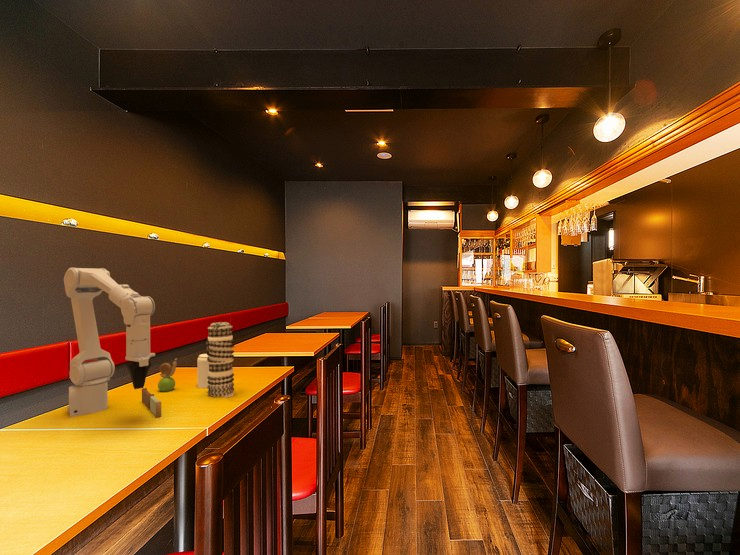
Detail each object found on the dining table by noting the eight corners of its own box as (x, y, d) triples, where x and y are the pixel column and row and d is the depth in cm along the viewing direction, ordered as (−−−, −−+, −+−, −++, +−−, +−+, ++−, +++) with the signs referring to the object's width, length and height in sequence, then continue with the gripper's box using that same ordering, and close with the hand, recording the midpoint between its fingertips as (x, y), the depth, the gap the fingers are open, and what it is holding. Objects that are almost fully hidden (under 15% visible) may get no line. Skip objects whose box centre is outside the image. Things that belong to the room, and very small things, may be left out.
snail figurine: (172, 394, 126) (172, 360, 126) (154, 394, 126) (154, 360, 127) (181, 389, 132) (180, 356, 132) (163, 389, 132) (163, 357, 132)
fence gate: (149, 410, 108) (149, 396, 108) (154, 409, 109) (154, 395, 109) (156, 417, 102) (156, 403, 102) (162, 416, 103) (161, 402, 103)
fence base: (148, 410, 109) (148, 395, 109) (141, 402, 116) (141, 388, 116) (154, 409, 110) (154, 394, 110) (146, 401, 118) (146, 387, 118)
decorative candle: (210, 401, 118) (210, 325, 118) (203, 395, 125) (202, 322, 125) (239, 395, 123) (238, 322, 124) (229, 389, 130) (229, 320, 131)
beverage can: (192, 389, 132) (192, 356, 132) (208, 383, 140) (208, 352, 140) (210, 390, 130) (210, 357, 130) (225, 384, 138) (225, 353, 138)
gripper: (160, 340, 99) (161, 390, 99) (148, 335, 110) (149, 380, 109) (130, 343, 94) (130, 396, 94) (120, 338, 105) (121, 385, 105)
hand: (138, 388), depth 101 cm, fingers closed
